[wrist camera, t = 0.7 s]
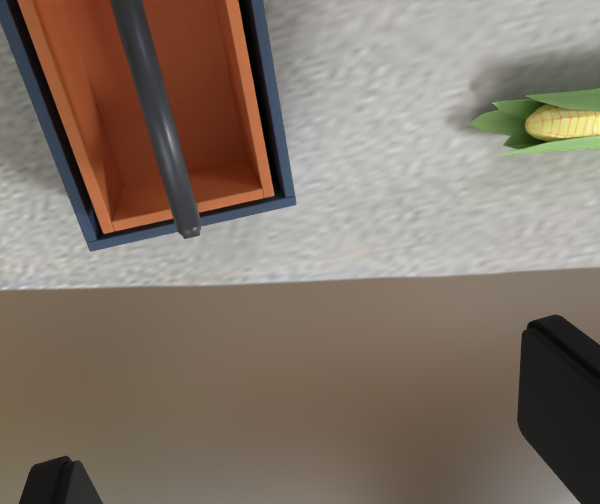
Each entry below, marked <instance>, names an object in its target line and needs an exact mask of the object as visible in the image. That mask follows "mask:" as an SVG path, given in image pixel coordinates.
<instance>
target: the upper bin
mask: <svg viewBox="0 0 600 504" xmlns="http://www.w3.org/2000/svg"><path fill="white" fill-rule="evenodd" d="M17 1H18V3H19V6H20V9H21V12H22V14H23V17H24V20H25V22H26V25H27V28H28V31H29V33H30V36H31V39H32V41H33V44H34V47H35V50H36V52H37V55H38V58H39V60H40V63H41V66H42V69H43V71H44V74H45V77H46V79H47V82H48V85H49V88H50V90H51V93H52V96H53V98H54V101H55V104H56V107H57V109H58V112H59V115H60V117H61V120H62V123H63V126H64V128H65V131H66V134H67V136H68V139H69V142H70V145H71V147H72V150H73V153H74V155H75V158H76V161H77V164H78V166H79V169H80V172H81V174H82V177H83V180H84V183H85V185H86V188H87V191H88V193H89V196H90V199H91V202H92V204H93V207H94V210H95V212H96V215H97V218H98V221H99V223H100V226H101V229H102V231H103V233H104V234H105V233H110V232H114V230H115V231H119V230H123V229H128V228H132V227H137V226H141V225H146V224H150V223H155V222H159V221H164V220H168V219H174V223H175V226H176V229H177V231H178V233H179V234H181V235H182V236H183V238H184V239H187V238H191V237H195V236H199V235H200V230H201V220H200V216H199V212H204V211H208V210H213V209H217V208H222V207H226V206H231V205H235V204H240V203H244V202H249V201H253V200H258V199H262V198H267V197H272V196H274V191H273V185H272V180H271V174H270V169H269V164H268V158H267V153H266V148H265V142H264V137H263V131H262V126H261V121H260V115H259V110H258V105H257V99H256V94H255V88H254V83H253V78H252V72H251V67H250V62H249V56H248V51H247V45H246V40H245V35H244V29H243V24H242V19H241V13H240V8H239V3H238V0H17Z"/></svg>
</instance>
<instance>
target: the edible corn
mask: <svg viewBox="0 0 600 504" xmlns="http://www.w3.org/2000/svg"><path fill="white" fill-rule="evenodd" d="M524 96H527V97H529V98H530V99H520V100H509V101H500V102H492V103H493V104H494V105H495V106H496V107H497V109H498V110H495V111H491V112H488V113H484V114H481V115H480V116H478V117H477V118H475V119H474V120H473V121H471V122H470V124H471V125H473V126H474V127H475V128H476V129H478V130H480V131H486V132H492V133H498V134H503V135H512V136H511V137H510V138H509V139H508V140H507V141H506V142H505V144H504V146H508V147H512V148H515V149H521V150H517V151H513V152H509V153H504V154H500V155H499V156H502V155H515V154H528V153H541V152H554V151H570V150H589V149H600V88H597V89H588V90H578V91H567V92H556V93H545V94H534V95H524Z"/></svg>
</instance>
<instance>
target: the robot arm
mask: <svg viewBox="0 0 600 504" xmlns="http://www.w3.org/2000/svg"><path fill="white" fill-rule="evenodd" d="M517 421H518V426H519V429H520V431H521V433H522V435H523V436H524V437H525V439H526V440H527V441H528V442H529V443H530V445H531V446H532V447H533V448H534V449H535V450H536V452H537V453H538V454H539V455H540V456H541V458H542V459H543V460H544V461H545V462H546V463H547V465H548V466H549V467H550V468H551V469H552V470H553V472H554V473H555V474H556V475H557V476H558V477H559V479H560V480H561V481H562V482H563V483H564V485H565V486H566V487H567V488H568V489H569V490H570V492H571V493H572V494H573V495H574V496H575V497H576V499H577V500H578V501H579V502H580V503H581V504H600V345H599V344H598V343H596V342H595V341H594V340H592V339H591V338H590V337H588V336H587V335H586V334H584V333H583V332H582V331H580V330H579V329H577V328H576V327H575V326H574V325H572V324H571V323H570V322H568V321H567V320H566V319H564V318H563V317H561V316H559V315H551V316H548V317H544V318H541V319H537V320H534V321H531V322H529V324H528V325H527V330H525V331H523V333H522V342H521V360H520V379H519V398H518V417H517ZM19 504H103V503H102V501H101V499H100V497H99V495H98V493H97V491H96V489H95V487H94V486H93V484H92V482H91V480H90V478H89V476H88V474H87V472H86V470H85V468H84V466H83V464H82V463H81V462H80V461H79V460H78V461H74V462H72V461H71V459H70V458H69V457H68V456H63V457H59V458H56V459H52V460H49V461H46V462H42V463H39V464H35V465H34V466H33V467H32V468H31V470H30V472H29V475H28V478H27V481H26V484H25V487H24V490H23V493H22V496H21V499H20V502H19Z"/></svg>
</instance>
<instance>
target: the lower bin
mask: <svg viewBox="0 0 600 504" xmlns="http://www.w3.org/2000/svg"><path fill="white" fill-rule="evenodd" d="M238 3H239V8H240V13H241V19H242V24H243V29H244V35H245V40H246V45H247V51H248V56H249V62H250V67H251V72H252V78H253V83H254V88H255V94H256V99H257V105H258V110H259V115H260V121H261V126H262V131H263V137H264V142H265V148H266V153H267V158H268V164H269V169H270V174H271V180H272V185H273V191H274V196H272V197H267V198H262V199H258V200H253V201H249V202H244V203H240V204H235V205H231V206H226V207H222V208H217V209H213V210H208V211H204V212H199V216H200V220H201V226H205V225H210V224H214V223H218V222H223V221H227V220H232V219H236V218H240V217H245V216H249V215H254V214H258V213H262V212H267V211H271V210H276V209H280V208H284V207H289V206H293V205H296V198H295V192H294V186H293V180H292V174H291V168H290V162H289V156H288V150H287V144H286V138H285V132H284V126H283V119H282V113H281V107H280V101H279V95H278V89H277V83H276V77H275V71H274V65H273V59H272V53H271V47H270V41H269V35H268V29H267V23H266V17H265V11H264V5H263V0H238ZM0 22H1V24H2V27H3V29H4V32H5V35H6V37H7V40H8V42H9V45H10V47H11V50H12V53H13V55H14V58H15V60H16V63H17V65H18V68H19V71H20V73H21V76H22V78H23V81H24V83H25V86H26V89H27V91H28V94H29V96H30V99H31V101H32V104H33V106H34V109H35V112H36V114H37V117H38V119H39V122H40V124H41V127H42V130H43V132H44V135H45V137H46V140H47V142H48V145H49V148H50V150H51V153H52V155H53V158H54V160H55V163H56V166H57V168H58V171H59V173H60V176H61V178H62V181H63V184H64V186H65V189H66V191H67V194H68V196H69V199H70V202H71V204H72V207H73V209H74V212H75V214H76V217H77V220H78V222H79V225H80V227H81V230H82V232H83V235H84V238H85V240H86V242H87V245H88V248H89V250H90V251H95V250H100V249H104V248H109V247H113V246H117V245H122V244H126V243H131V242H135V241H139V240H144V239H148V238H153V237H157V236H161V235H166V234H170V233H175V232H178V231H177V229H176V226H175V223H174V219H168V220H164V221H159V222H155V223H150V224H146V225H141V226H137V227H132V228H128V229H123V230H119V231H115V230H114V232H110V233H105V234H104V233H103V231H102V229H101V226H100V223H99V221H98V218H97V215H96V212H95V210H94V207H93V204H92V202H91V199H90V196H89V193H88V191H87V188H86V185H85V183H84V180H83V177H82V174H81V172H80V169H79V166H78V164H77V161H76V158H75V155H74V153H73V150H72V147H71V145H70V142H69V139H68V136H67V134H66V131H65V128H64V126H63V123H62V120H61V117H60V115H59V112H58V109H57V107H56V104H55V101H54V98H53V96H52V93H51V90H50V88H49V85H48V82H47V79H46V77H45V74H44V71H43V69H42V66H41V63H40V60H39V58H38V55H37V52H36V50H35V47H34V44H33V41H32V39H31V36H30V33H29V31H28V28H27V25H26V22H25V20H24V17H23V14H22V12H21V9H20V6H19V3H18V1H17V0H0Z"/></svg>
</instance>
